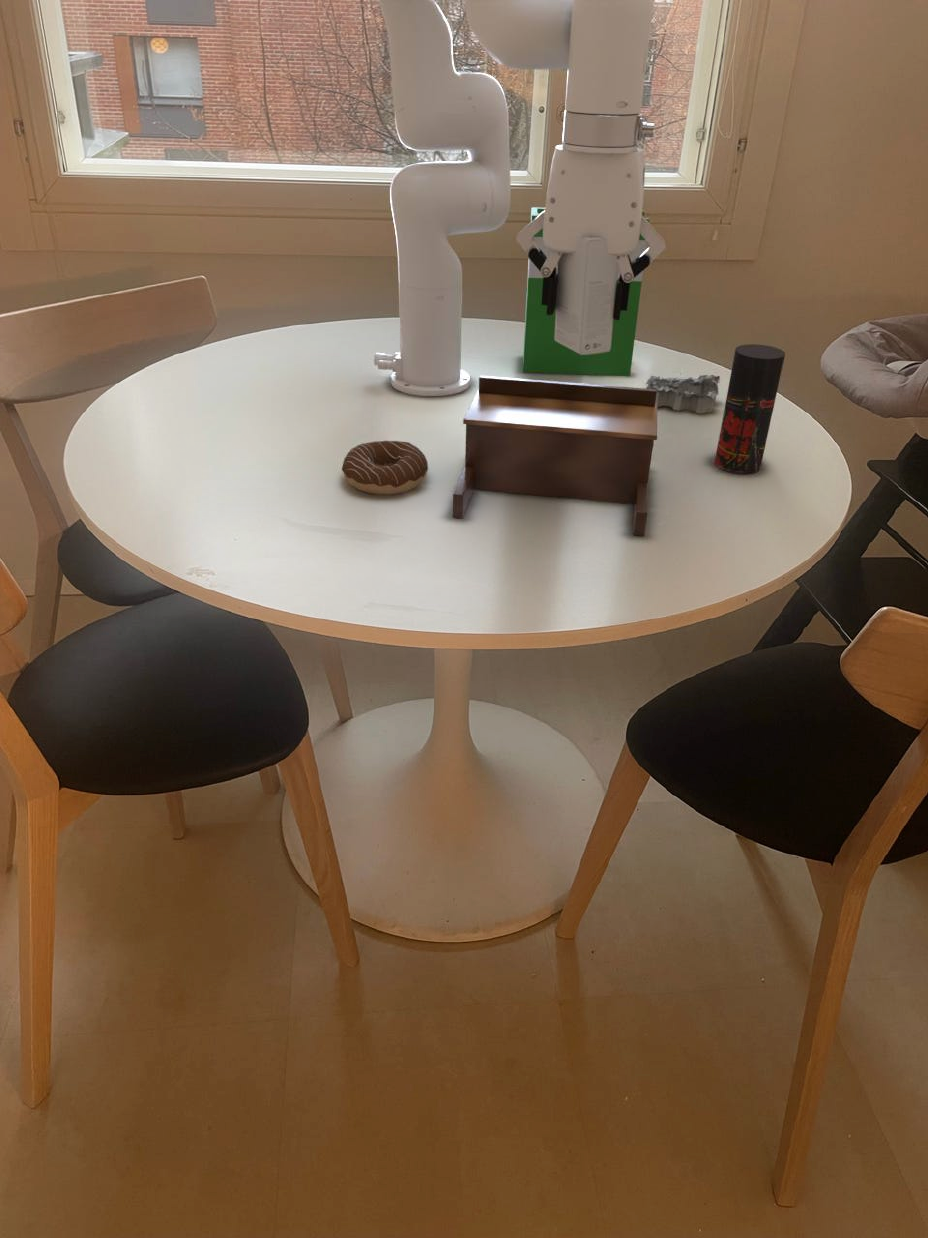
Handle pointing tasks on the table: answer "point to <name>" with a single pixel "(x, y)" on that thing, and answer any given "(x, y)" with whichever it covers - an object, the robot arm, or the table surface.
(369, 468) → the donut
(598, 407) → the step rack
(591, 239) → the cosmetic box
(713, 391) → the egg carton
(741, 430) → the deodorant
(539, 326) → the hardback book
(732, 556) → the table surface
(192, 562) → the table surface
